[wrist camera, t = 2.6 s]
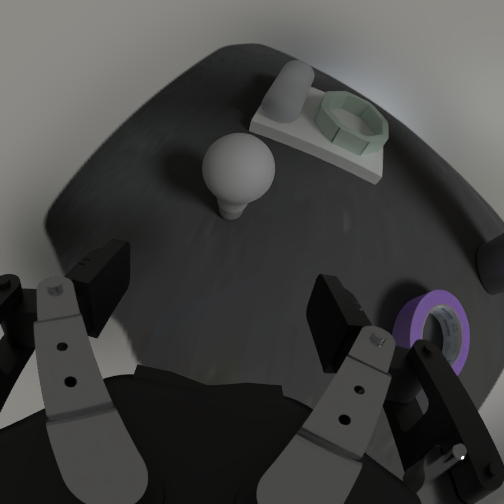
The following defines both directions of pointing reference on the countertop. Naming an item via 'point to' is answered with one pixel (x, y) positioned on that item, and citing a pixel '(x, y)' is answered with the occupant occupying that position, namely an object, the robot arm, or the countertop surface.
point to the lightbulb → (237, 172)
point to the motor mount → (323, 122)
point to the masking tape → (449, 318)
